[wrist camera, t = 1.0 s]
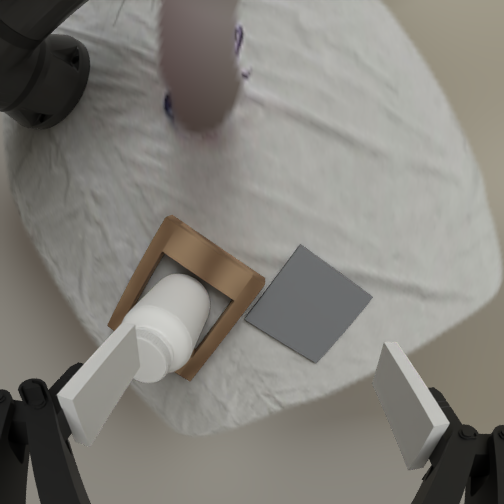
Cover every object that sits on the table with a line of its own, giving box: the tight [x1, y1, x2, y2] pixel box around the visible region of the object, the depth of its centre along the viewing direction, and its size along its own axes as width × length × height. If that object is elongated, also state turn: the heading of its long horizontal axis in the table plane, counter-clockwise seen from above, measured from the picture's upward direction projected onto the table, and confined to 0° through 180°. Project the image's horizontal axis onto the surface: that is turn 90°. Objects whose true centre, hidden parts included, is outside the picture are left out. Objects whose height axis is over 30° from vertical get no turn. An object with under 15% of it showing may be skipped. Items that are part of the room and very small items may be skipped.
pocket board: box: [107, 215, 265, 381], centre depth 39 cm, size 14×18×2 cm
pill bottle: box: [122, 274, 210, 383], centre depth 33 cm, size 8×8×15 cm
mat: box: [245, 244, 373, 363], centre depth 39 cm, size 12×12×1 cm
